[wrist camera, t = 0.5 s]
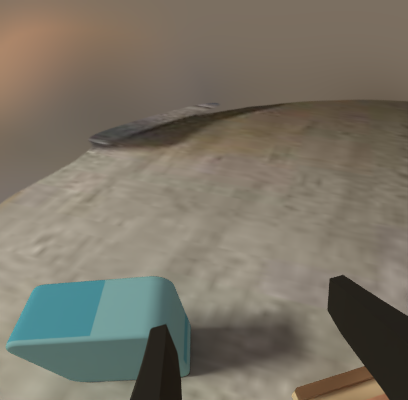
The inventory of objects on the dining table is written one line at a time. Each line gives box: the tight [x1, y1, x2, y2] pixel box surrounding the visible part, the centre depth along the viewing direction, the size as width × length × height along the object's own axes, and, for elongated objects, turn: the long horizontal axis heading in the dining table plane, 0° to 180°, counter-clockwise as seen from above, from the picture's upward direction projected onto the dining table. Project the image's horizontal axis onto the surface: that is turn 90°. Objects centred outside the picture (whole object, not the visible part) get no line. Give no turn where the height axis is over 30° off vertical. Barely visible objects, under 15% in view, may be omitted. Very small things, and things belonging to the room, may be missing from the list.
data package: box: [6, 276, 191, 382], centre depth 23 cm, size 12×4×12 cm, turn 91°
